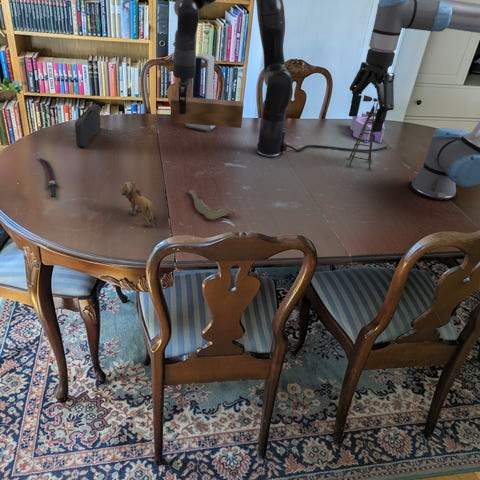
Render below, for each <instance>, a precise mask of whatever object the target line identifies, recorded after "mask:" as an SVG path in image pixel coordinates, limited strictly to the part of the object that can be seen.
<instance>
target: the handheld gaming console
mask: <svg viewBox="0 0 480 480" xmlns="http://www.w3.org/2000/svg"><path fill="white" fill-rule="evenodd" d="M99 130H101V112H100V105H99V104H95V103H94V104H91V105H90V106H89V107H88V108H87V109H85V111H84V112H83V113H82V114H81V115H79V117H78V118H77V119H76V120H75V122H74V131H75V141H76V146H77V147H79V148H85V147H86V146H87V145H88V144H89V143H90V141H91V140H92V139H93V137H95V136H96V134H97V133H98V132H99Z"/></svg>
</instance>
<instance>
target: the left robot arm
mask: <svg viewBox="0 0 480 480" xmlns="http://www.w3.org/2000/svg"><path fill="white" fill-rule="evenodd" d="M216 1H217V0H175V2H174V5H173V10H174V14H175V15H176V17H177V22H176V23H177V24H176V25H177V26H176V27H177V28H176V30H175V33H174V49H173V67H172V69H173V70H172V72H173V73H172V74H173V76H174V77H175V78H177V79H179V80H178V82H177V89H178V91H177V96H179V101H178V102H179V103H180V105H179V113H180V114H185V113H186V103H187V101H186V98H187V97H189V93H190V86H191V81H190V80H192V78H194V77H195V67H196V56H197V52H196V51H197V49H196V47H197V31H198V27H199V21H200V11H201V10H202V9H203V8H204V7H206V6H210V5H213V4H214V3H215V2H216ZM255 3H256V14H257V23H258V29H259V35H260V43H261V47H262V52H263V80H264V83H265V86H266V91H265V97H264V98H265V99H264V100H263V102H262V105H261V114H260V123H259V131H258V138H257V139H258V140H257V143H256V153H257V154H258V155H259V156H262V157H264V158H265V157H266V158H277V157H279V156H281V155H282V154H283V152H287V149H288V148H289V149H292V150H293V151H294V152H301V151H303V150H304V149H305V148H321V149H322V148H323V149H334V150H341V151H350V152H352V150H353V148H346V147H338V146H329V145H321V144H320V145H319V144H307V145H303V146H302V147H301V148H299V149H296V147H294V146H292V145H288V143H287V142H285V136H286V130H284V128H285V122H286V115H287V108H288V107H289V104H290V101H291V93H292V89H293V88H292V87H293V77H292V75H291V72H290V71H289V70H288V69H287V67H286V62H285V61H286V60H285V55H284V44H285V43H284V42H285V35H286V15H285V14H286V13H285V6H284V5H285V4H284V1H283V0H255ZM181 97H184V98H185V100H181ZM387 148H388V145H386V146H382V147H378V148H372V151H371V152H375V151H382V150H384V149H387ZM357 151H362V152H369V148H368V149H367V148H366V149H359V148H357Z"/></svg>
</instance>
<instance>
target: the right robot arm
mask: <svg viewBox="0 0 480 480" xmlns="http://www.w3.org/2000/svg"><path fill="white" fill-rule="evenodd" d="M402 29H405V30H408V29H409V30H415V31H416V30H417V31H424V32H425V31H426V32H430V33H433V32H438V33H440V32H444V31H445V30H446V29H448V30H455V31H462V32H470V33H477V34H480V3H476V2H469V1H467V2H466V1H461V0H379V1H378V3H377V9H376V14H375V19H374V24H373V28H372V31H371V35H370V39H369V42H368V43H369V44H368V46H369V49H368V50H367V53H366V58H365V62H364V61H362V62H361V63H360V67H359V70H358V71H357V73H356V75H355V77H354V79H353V81H352V83H351V84H350V86H349V91H350V92H351V94H352V96H351V101H350V108H349V112H348V117H353V116H357V115H358V114H359V110H360V106H361V102H362V99H363V95H362V94H363V92H364V90H366V88H367V87H368V86H369V85H370V84H372V85H373V87H374V88H375V90H376V96H377V97H378V99H377V100H378V101H377V102H379V103H378V108H377V111H376V117H374V119H375V121H374V125H373V128H372V132H381V130H382V126H383V123H384V124H385V121H386V117H387V114H388V111H393V110H394V109H395V108H394V107H395V101H394V100H395V99H394V98H395V97H394V94H395V93H394V81H395V77H396V75H395V72H389V68H391V67H392V66H393V64H394V60H395V57H396V53H395V51H396V50H397V47H398V43H399V40H400V36H401V32H402ZM358 116H359V115H358ZM479 185H480V120H479V121H478V122H477V124H476V125H475V127H474V128H473V129H472V130H471V132H469V131H466V130H464V129H463V130H462V129H458V128H453V127H438V128H436V129H435V131H434V132H433V134H432V137H431V140H430V143H429V146H428V150H427V152H426V156H425V158H424V162H423V165H422V167H421V169H419V171H418V173H417V174H416V176H415V177H414V178H413V180H412V182H411V185H410V187H411V189H412V190H413V191H414V192H415V193H416V194H418V195H420V196H422V197H424V198H427V199H431V200H436V201H449V200H453V199H454V198H455V196H456V193H457V187H456V186H459V187H461V188H462V187H463V188H472V187H477V186H479Z"/></svg>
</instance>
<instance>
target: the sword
mask: <svg viewBox="0 0 480 480" xmlns="http://www.w3.org/2000/svg"><path fill="white" fill-rule="evenodd" d="M40 161H41V162H42V163H43V165H44V166H45V169H46V173H47V176H48V185H47V188H50V198H56V197H57V189H56V188H57V187H59V185H58V184H57V183H56V180H55V176H54V172H53V169H52V167H51V164H50V163H49V161H48V160H46V159H43V158H40Z"/></svg>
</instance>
